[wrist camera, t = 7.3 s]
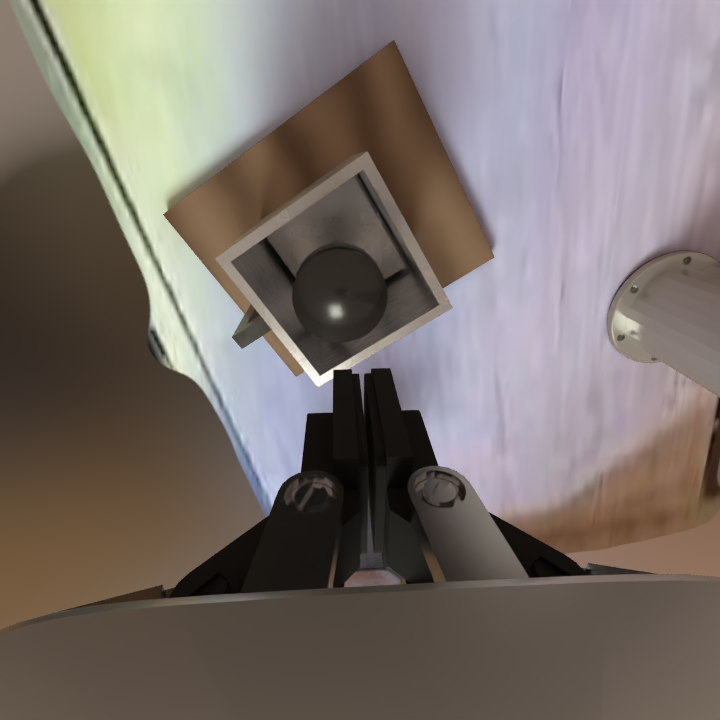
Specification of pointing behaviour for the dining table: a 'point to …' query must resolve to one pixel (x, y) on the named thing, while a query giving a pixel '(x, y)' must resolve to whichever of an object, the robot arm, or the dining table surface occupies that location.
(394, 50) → the walnut board
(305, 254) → the plunger
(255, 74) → the dining table surface
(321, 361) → the open box
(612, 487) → the dining table surface
